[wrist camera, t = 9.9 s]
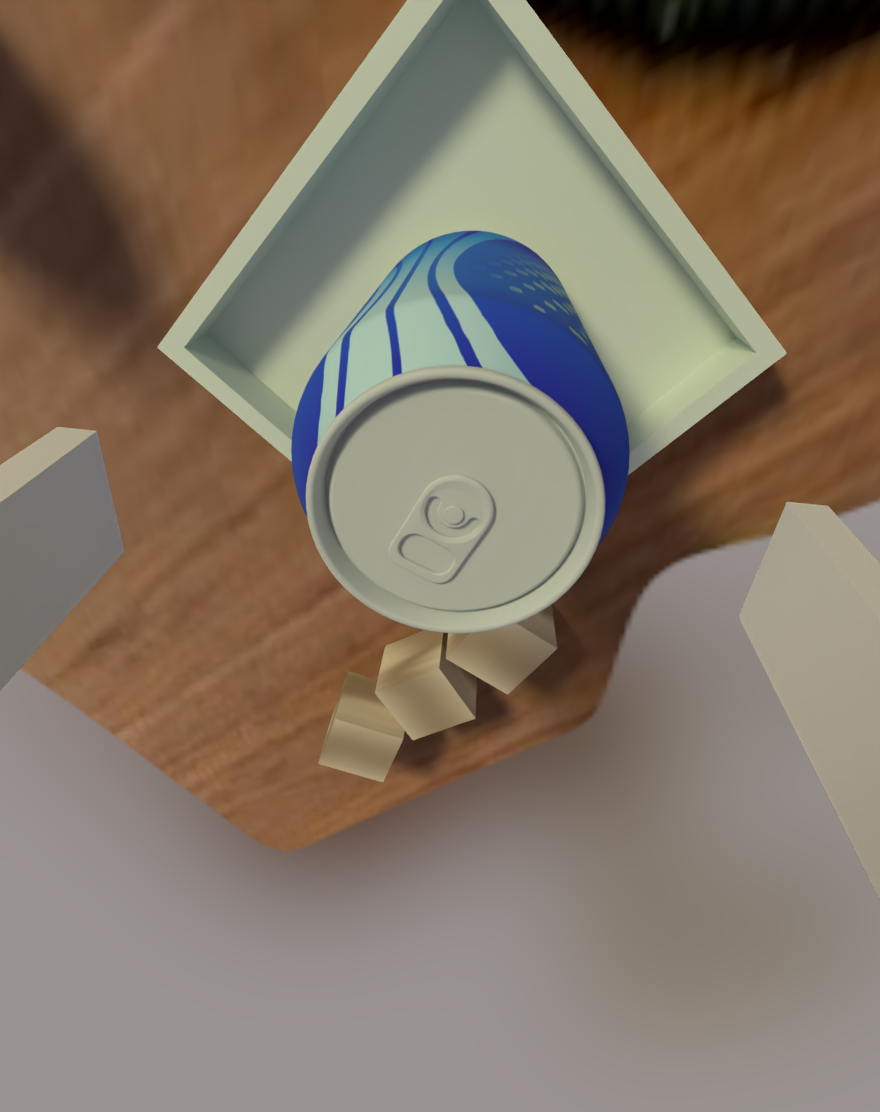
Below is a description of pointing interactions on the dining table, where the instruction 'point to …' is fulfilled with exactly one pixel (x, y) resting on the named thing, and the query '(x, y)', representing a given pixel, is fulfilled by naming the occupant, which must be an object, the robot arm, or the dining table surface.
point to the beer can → (461, 440)
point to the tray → (472, 227)
